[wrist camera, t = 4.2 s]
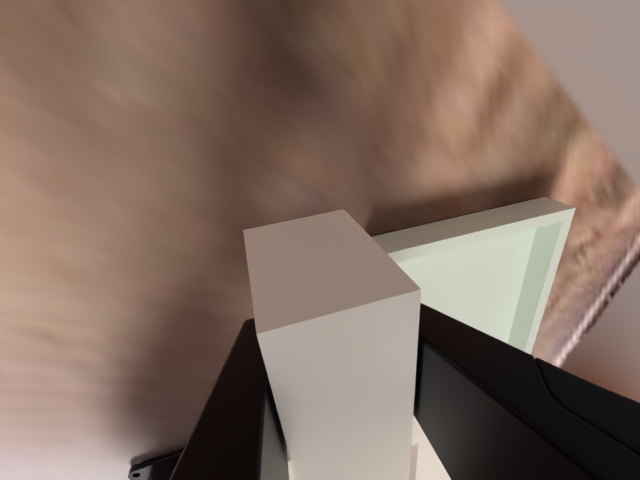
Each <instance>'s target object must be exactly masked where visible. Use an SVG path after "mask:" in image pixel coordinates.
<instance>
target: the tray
mask: <svg viewBox="0 0 640 480" xmlns="http://www.w3.org/2000/svg"><path fill="white" fill-rule="evenodd" d="M575 208H576V207H573V206H570V205H567V204H564V203H561V202H558V201H555V200H552V199H550V198H547V197H542V198H538V199H533V200H529V201H525V202H520V203H516V204H512V205H507V206H503V207H499V208H494V209H490V210H486V211H481V212H477V213H473V214H468V215H464V216H460V217H455V218H451V219H447V220H442V221H438V222H434V223H429V224H425V225H420V226H416V227H412V228H407V229H403V230H399V231H394V232H390V233H386V234H381V235H377V236H373V237H371V238H372V239H373V240H374V241H375V242H376V243H377V244H378V245H379V246H380V247H381V248H382V249H383V250H384V251H385V252H386V253H387V254H388V255H389V256H390V257H391V258H392V259H393V260H394V261H395V262H396V264H397V265H398V266H399V267H400V268H401V269H402V270H403V271H404V272H405V273H406V274H407V275H408V276H409V277H410V278H411V279H412V280H413V281H414V282H415V283H416V284H417V285H418V286H419V287H420V288H421V301H420V303H422V304H425V305H427V306H429V307H431V308H433V309H435V310H437V311H439V312H442V313H444V314H446V315H448V316H450V317H452V318H454V319H456V320H458V321H461V322H463V323H465V324H467V325H469V326H471V327H473V328H475V329H478V330H480V331H482V332H484V333H486V334H488V335H490V336H492V337H495V338H497V339H499V340H501V341H503V342H505V343H507V344H509V345H512V346H514V347H516V348H518V349H520V350H522V351H524V352H526V353H528V354H531V352H532V348H533V345H534V342H535V339H536V335H537V332H538V329H539V326H540V322H541V319H542V316H543V313H544V309H545V306H546V303H547V300H548V296H549V293H550V290H551V287H552V283H553V280H554V277H555V274H556V270H557V267H558V264H559V261H560V257H561V254H562V251H563V248H564V244H565V241H566V238H567V235H568V231H569V228H570V225H571V222H572V218H573V215H574V212H575Z"/></svg>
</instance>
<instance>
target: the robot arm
mask: <svg viewBox="0 0 640 480" xmlns="http://www.w3.org/2000/svg"><path fill="white" fill-rule="evenodd" d="M413 415H414V416H415V418H416V420H417V422H418V423H419V425H420V427H421V428H422V430H423V432H424V434H425V435H426V437H427V439H428V441H429V442H430V444H431V446H432V447H433V449H434V451H435V453H436V454H437V456H438V458H439V459H440V461H441V463H442V465H443V466H444V468H445V470H446V472H447V473H448V475H449V477H450V478H451V480H640V403H639V402H637V401H634V400H632V399H629V398H627V397H625V396H622V395H620V394H618V393H615V392H612V391H610V390H608V389H605V388H603V387H601V386H598V385H596V384H594V383H592V382H589V381H587V380H585V379H583V378H581V377H578V376H576V375H574V374H572V373H569V372H567V371H565V370H563V369H561V368H558V367H556V366H554V365H552V364H550V363H548V362H546V361H544V360H542V359H539V358H535V359H534V357H533V356H532V355H531V354H528V353H526V352H524V351H522V350H520V349H518V348H516V347H514V346H512V345H509V344H507V343H505V342H503V341H501V340H499V339H497V338H495V337H492V336H490V335H488V334H486V333H484V332H482V331H480V330H478V329H475V328H473V327H471V326H469V325H467V324H465V323H463V322H461V321H458V320H456V319H454V318H452V317H450V316H448V315H446V314H444V313H442V312H439V311H437V310H435V309H433V308H431V307H429V306H427V305H425V304H422V303H420V316H419V332H418V348H417V363H416V379H415V394H414V410H413ZM128 477H129V479H130V480H289V471H288V457H287V444H286V440H285V437H284V433H283V429H282V426H281V422H280V419H279V415H278V411H277V408H276V404H275V400H274V397H273V393H272V389H271V386H270V382H269V378H268V375H267V371H266V367H265V364H264V360H263V357H262V353H261V349H260V346H259V342H258V338H257V335H256V327H255V319H254V318H252V319H248V320H246V321H245V322H244V323H243V325H242V328H241V330H240V332H239V334H238V336H237V338H236V340H235V342H234V344H233V347H232V349H231V351H230V353H229V355H228V357H227V359H226V361H225V363H224V366H223V368H222V370H221V372H220V374H219V376H218V378H217V380H216V382H215V385H214V387H213V389H212V391H211V393H210V395H209V397H208V399H207V401H206V404H205V406H204V408H203V410H202V412H201V414H200V416H199V418H198V420H197V423H196V425H195V427H194V429H193V431H192V433H191V435H190V437H189V439H188V442H187V444H186V446H185V448H184V449H183V450H180V451H177V452H174V453H171V454H168V455H165V456H162V457H159V458H156V459H153V460H150V461H147V462H144V463H141V464H138V465H135V466H133V467H131V468H130V471H129V475H128Z"/></svg>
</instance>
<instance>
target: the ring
mask: <svg viewBox="0 0 640 480" xmlns="http://www.w3.org/2000/svg"><path fill="white" fill-rule="evenodd" d="M243 233H244V241H245V249H246V257H247V264H248V272H249V280H250V288H251V296H252V304H253V312H254V319H255V327H256V335H257V338H258V342H259V346H260V349H261V353H262V357H263V360H264V364H265V367H266V371H267V375H268V378H269V382H270V386H271V389H272V393H273V397H274V400H275V404H276V408H277V411H278V415H279V419H280V422H281V426H282V429H283V433H284V437H285V440H286V444H287V457H288V471H289V480H450V477H449V475H448V473H447V472H446V470H445V468H444V466H443V465H442V463H441V461H440V459H439V458H438V456H437V454H436V453H435V451H434V449H433V447H432V446H431V444H430V442H429V441H428V439H427V437H426V435H425V434H424V432H423V430H422V428H421V427H420V425H419V423H418V422H417V420H416V418H415V416H414V415H413V410H414V394H415V379H416V363H417V348H418V332H419V316H420V301H421V288H420V287H419V286H418V285H417V284H416V283H415V282H414V281H413V280H412V279H411V278H410V277H409V276H408V275H407V274H406V273H405V272H404V271H403V270H402V269H401V268H400V267H399V266H398V265H397V264H396V262H395V261H394V260H393V259H392V258H391V257H390V256H389V255H388V254H387V253H386V252H385V251H384V250H383V249H382V248H381V247H380V246H379V245H378V244H377V243H376V242H375V241H374V240H373V239H372V238H371V237H370V235H369V234H368V233H367V232H366V231H365V230H364V229H363V228H362V227H361V226H360V225H359V224H358V223H357V222H356V221H355V220H354V219H353V218H352V217H351V216H350V215H349V214H348V213H347V212H346V211H345V210H344V209H342V210H337V211H333V212H328V213H323V214H318V215H313V216H308V217H304V218H299V219H294V220H289V221H284V222H279V223H275V224H270V225H265V226H260V227H255V228H251V229H246V230H243ZM196 423H197V422H196Z"/></svg>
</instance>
